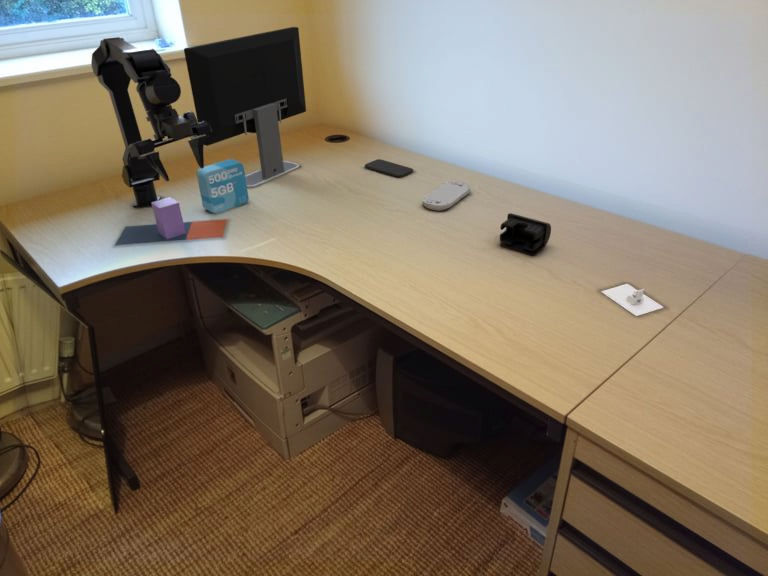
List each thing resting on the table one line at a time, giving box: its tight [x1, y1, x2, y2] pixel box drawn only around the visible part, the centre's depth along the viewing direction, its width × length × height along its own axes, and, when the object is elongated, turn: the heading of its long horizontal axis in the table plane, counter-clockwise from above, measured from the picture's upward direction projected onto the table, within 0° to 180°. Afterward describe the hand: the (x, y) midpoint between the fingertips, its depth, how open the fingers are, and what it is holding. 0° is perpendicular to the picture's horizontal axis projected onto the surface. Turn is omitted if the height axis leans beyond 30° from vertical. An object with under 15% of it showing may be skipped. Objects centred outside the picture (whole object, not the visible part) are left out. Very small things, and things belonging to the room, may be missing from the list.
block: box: [151, 196, 186, 239], centre depth 147 cm, size 5×5×8 cm
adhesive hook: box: [625, 288, 645, 305], centre depth 117 cm, size 3×3×3 cm
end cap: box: [499, 212, 552, 257], centre depth 138 cm, size 10×7×7 cm
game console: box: [422, 180, 471, 212], centre depth 163 cm, size 18×2×8 cm
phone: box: [364, 158, 414, 178], centre depth 184 cm, size 7×1×15 cm
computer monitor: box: [183, 26, 307, 188], centre depth 173 cm, size 41×8×40 cm, turn 144°
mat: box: [114, 218, 228, 246], centre depth 150 cm, size 26×10×1 cm, turn 97°
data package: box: [196, 158, 249, 214], centre depth 160 cm, size 12×4×12 cm, turn 135°
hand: (185, 174), depth 139 cm, fingers open, 9 cm apart
